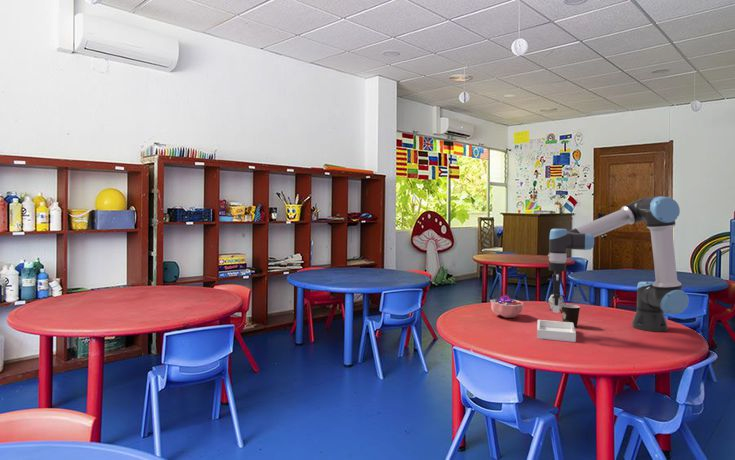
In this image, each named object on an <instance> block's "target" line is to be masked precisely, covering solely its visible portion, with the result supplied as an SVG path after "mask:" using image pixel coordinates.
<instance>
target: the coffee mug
mask: <svg viewBox="0 0 735 460" xmlns="http://www.w3.org/2000/svg"><path fill="white" fill-rule="evenodd" d="M580 309H581V306H580V305H575V304H570V303H569V304H566V303H564V305H563V307H562V309H561V311H562V312H561V311H560V310H559V313H561V316H562V317H561V318H562V322H572V323H573V324H574V328H575V329H576V328H577V327H578V321H579V316H580Z"/></svg>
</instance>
